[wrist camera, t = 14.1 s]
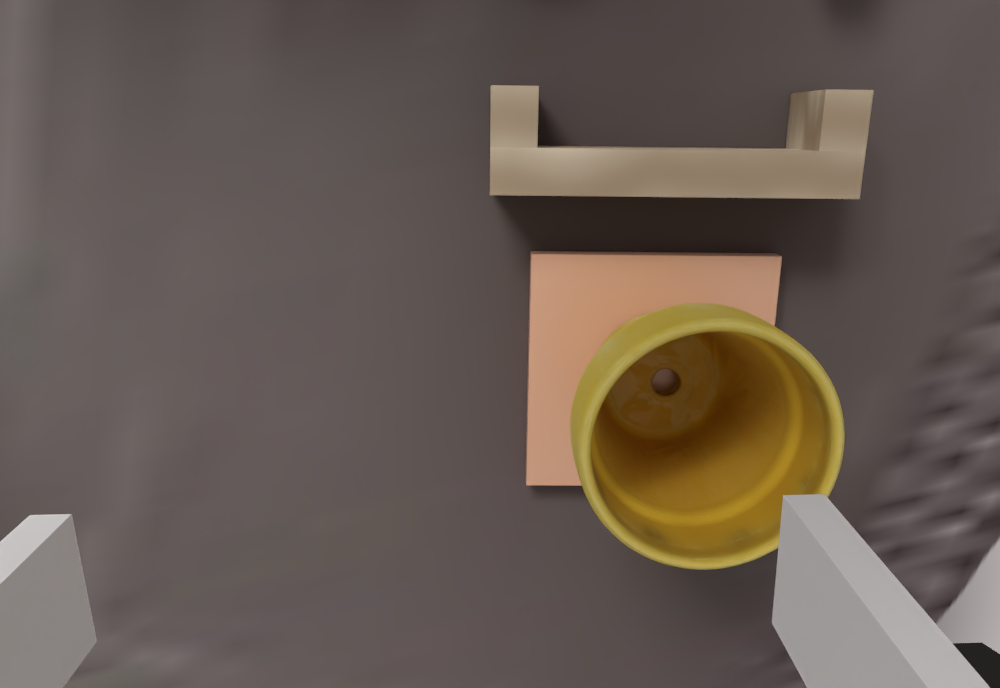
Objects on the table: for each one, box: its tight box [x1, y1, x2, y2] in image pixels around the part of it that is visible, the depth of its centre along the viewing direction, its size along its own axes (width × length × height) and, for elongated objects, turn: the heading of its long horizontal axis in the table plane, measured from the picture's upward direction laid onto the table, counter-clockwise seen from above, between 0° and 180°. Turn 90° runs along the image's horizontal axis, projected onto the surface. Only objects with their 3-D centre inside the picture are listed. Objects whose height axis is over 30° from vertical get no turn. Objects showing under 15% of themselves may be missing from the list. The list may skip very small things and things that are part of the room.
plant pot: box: [570, 303, 845, 570], centre depth 35 cm, size 10×10×10 cm
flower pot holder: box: [490, 85, 874, 199], centre depth 34 cm, size 16×16×4 cm
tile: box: [526, 251, 782, 486], centre depth 40 cm, size 12×12×1 cm
